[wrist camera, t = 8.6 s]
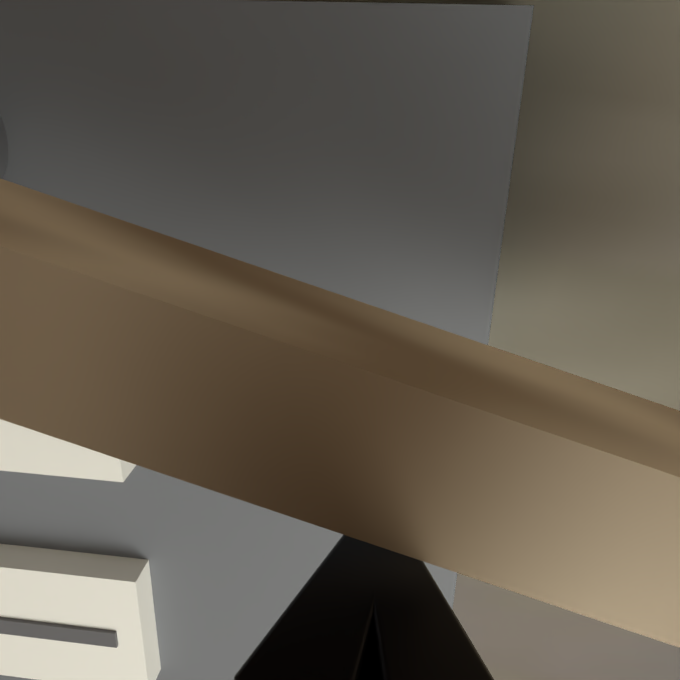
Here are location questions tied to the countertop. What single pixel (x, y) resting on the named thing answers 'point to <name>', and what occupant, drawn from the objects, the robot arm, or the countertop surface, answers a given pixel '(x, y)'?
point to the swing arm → (339, 413)
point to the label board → (245, 245)
